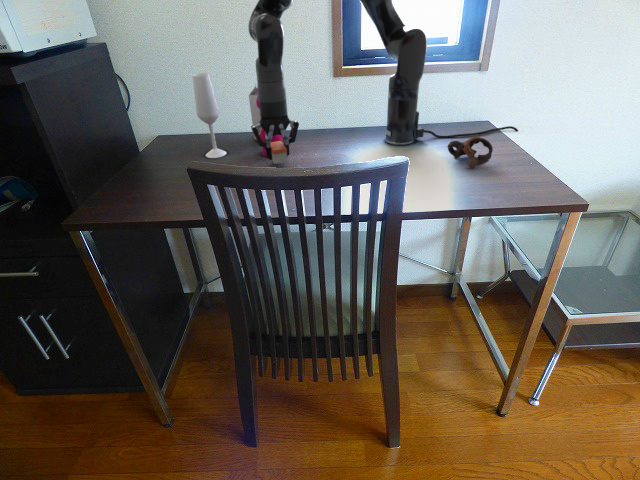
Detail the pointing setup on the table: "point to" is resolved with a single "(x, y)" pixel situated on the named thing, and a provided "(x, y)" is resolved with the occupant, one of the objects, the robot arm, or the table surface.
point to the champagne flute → (207, 108)
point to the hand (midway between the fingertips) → (278, 157)
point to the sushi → (278, 152)
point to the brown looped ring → (470, 150)
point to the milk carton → (254, 107)
